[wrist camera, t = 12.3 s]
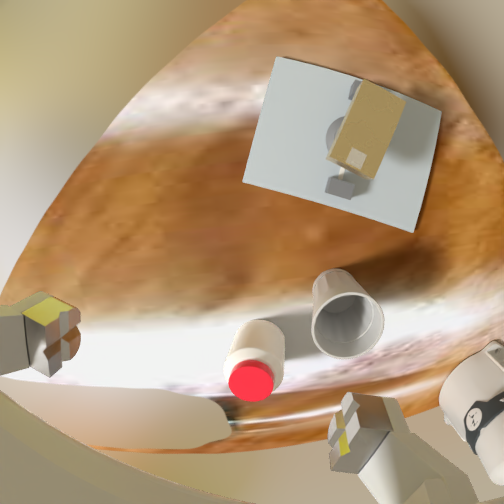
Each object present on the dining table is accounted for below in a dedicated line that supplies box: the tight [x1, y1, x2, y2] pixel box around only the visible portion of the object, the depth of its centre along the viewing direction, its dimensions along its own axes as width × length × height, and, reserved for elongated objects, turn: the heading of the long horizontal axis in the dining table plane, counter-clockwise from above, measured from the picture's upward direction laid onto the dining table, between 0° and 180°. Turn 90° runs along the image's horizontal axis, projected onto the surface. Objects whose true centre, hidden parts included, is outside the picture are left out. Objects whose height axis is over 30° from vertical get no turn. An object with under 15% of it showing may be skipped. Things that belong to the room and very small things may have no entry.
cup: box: [311, 269, 384, 359], centre depth 38 cm, size 8×8×12 cm
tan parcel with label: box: [326, 79, 406, 179], centre depth 29 cm, size 9×5×5 cm, turn 156°
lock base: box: [242, 56, 442, 233], centre depth 35 cm, size 24×18×7 cm
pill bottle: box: [224, 319, 285, 401], centre depth 41 cm, size 8×8×11 cm
